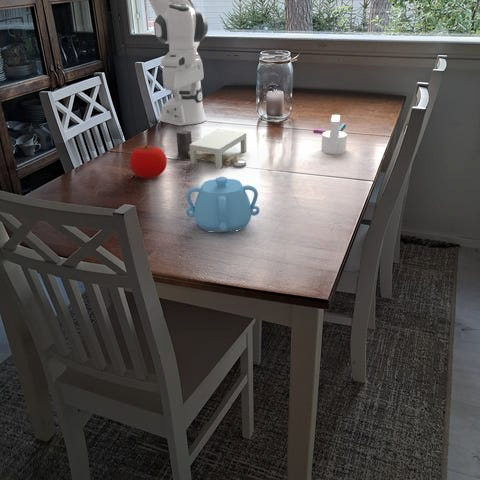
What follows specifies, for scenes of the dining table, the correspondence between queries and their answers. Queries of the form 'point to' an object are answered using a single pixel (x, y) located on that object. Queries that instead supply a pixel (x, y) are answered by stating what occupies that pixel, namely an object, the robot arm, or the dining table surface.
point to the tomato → (148, 161)
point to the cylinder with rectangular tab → (334, 138)
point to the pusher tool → (184, 151)
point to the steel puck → (239, 162)
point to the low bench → (217, 144)
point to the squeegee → (325, 131)
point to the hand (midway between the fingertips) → (185, 98)
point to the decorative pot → (222, 205)
